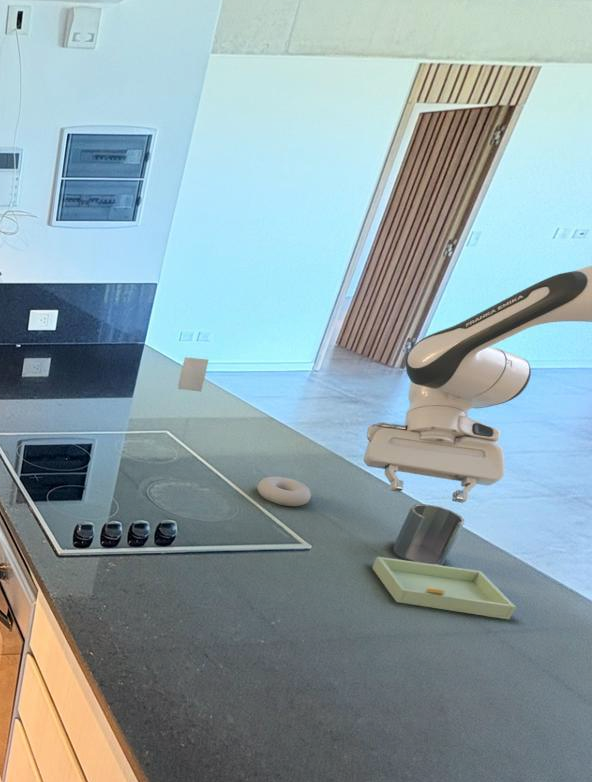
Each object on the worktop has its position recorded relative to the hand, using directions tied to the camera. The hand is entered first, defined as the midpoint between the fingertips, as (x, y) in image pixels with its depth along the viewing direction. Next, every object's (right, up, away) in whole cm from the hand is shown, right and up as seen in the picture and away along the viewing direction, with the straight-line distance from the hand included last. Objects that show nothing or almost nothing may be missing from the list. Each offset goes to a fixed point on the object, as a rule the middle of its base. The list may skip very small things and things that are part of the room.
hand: (427, 495), depth 115 cm
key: (-12, -15, -15) cm, 24 cm away
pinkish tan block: (-1, +32, +85) cm, 91 cm away
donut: (-15, -1, +19) cm, 24 cm away
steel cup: (-3, -11, -1) cm, 12 cm away
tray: (-9, -16, -11) cm, 21 cm away
